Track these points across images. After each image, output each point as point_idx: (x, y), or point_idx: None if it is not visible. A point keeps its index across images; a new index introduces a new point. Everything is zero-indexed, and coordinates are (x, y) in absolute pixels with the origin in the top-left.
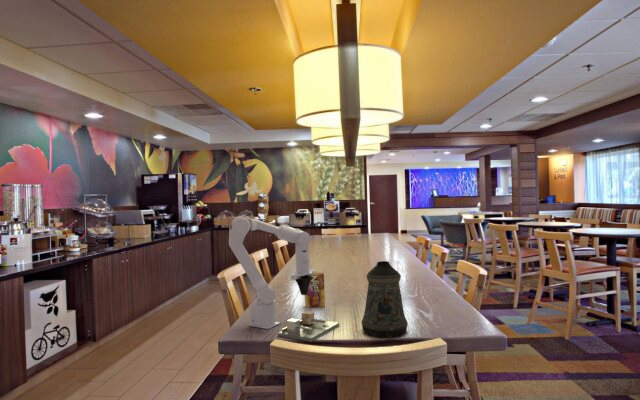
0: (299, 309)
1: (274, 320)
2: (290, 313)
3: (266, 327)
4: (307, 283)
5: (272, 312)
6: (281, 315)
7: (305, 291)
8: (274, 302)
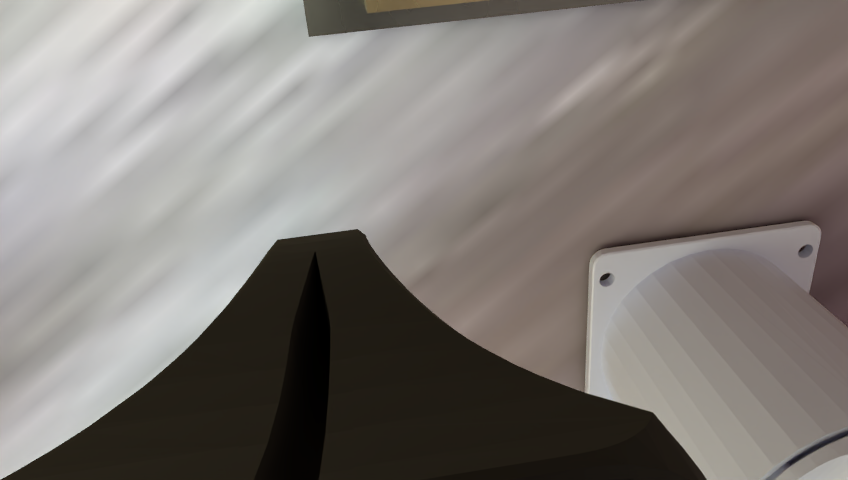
0: (5, 463)
1: (713, 277)
2: None
3: (798, 255)
4: (283, 402)
5: (813, 334)
6: None
7: (376, 258)
8: (800, 453)
